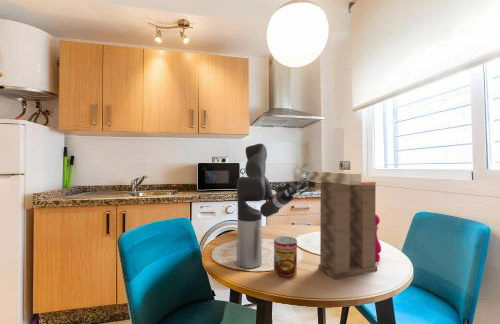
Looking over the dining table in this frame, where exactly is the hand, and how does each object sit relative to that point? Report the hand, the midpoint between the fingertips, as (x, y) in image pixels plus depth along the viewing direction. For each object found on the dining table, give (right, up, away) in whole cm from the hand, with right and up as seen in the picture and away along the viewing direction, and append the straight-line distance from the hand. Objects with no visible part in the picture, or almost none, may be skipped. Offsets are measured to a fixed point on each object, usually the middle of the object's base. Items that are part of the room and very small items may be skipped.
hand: (298, 183), depth 109 cm
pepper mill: (+28, -30, -9) cm, 42 cm away
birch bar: (+8, +3, -19) cm, 21 cm away
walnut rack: (+14, -30, -19) cm, 38 cm away
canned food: (-9, -30, -23) cm, 38 cm away
